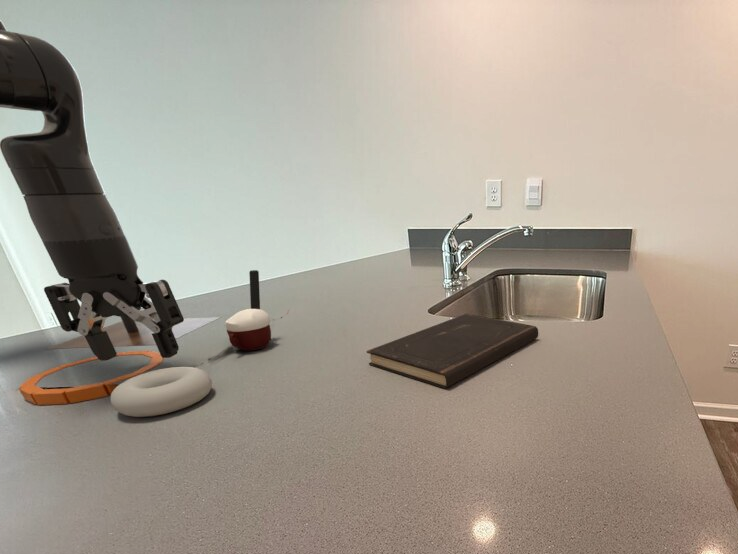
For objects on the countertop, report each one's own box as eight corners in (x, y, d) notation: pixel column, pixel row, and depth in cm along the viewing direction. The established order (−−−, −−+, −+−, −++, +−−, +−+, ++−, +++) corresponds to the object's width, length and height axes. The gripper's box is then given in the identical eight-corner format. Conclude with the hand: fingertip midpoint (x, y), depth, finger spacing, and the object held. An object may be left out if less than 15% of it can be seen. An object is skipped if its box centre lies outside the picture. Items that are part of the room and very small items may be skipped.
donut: (143, 391, 55) (97, 428, 46) (133, 368, 54) (83, 400, 45) (227, 381, 57) (197, 414, 48) (219, 359, 56) (187, 388, 47)
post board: (49, 357, 67) (27, 319, 64) (126, 327, 82) (112, 295, 79) (167, 353, 68) (151, 315, 65) (223, 324, 82) (212, 292, 79)
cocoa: (241, 359, 65) (215, 283, 59) (218, 353, 67) (192, 280, 62) (294, 340, 72) (275, 271, 67) (271, 335, 75) (252, 269, 70)
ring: (-8, 407, 51) (-16, 396, 51) (94, 362, 65) (89, 352, 64) (112, 402, 52) (106, 391, 51) (189, 358, 65) (185, 349, 65)
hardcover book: (369, 365, 61) (366, 350, 60) (467, 325, 78) (466, 313, 77) (447, 390, 53) (446, 374, 52) (538, 339, 70) (538, 326, 69)
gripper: (165, 230, 54) (208, 346, 61) (53, 233, 53) (109, 349, 60) (119, 236, 47) (173, 365, 54) (-10, 240, 46) (61, 370, 54)
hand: (139, 357), depth 57 cm, fingers open, 8 cm apart
